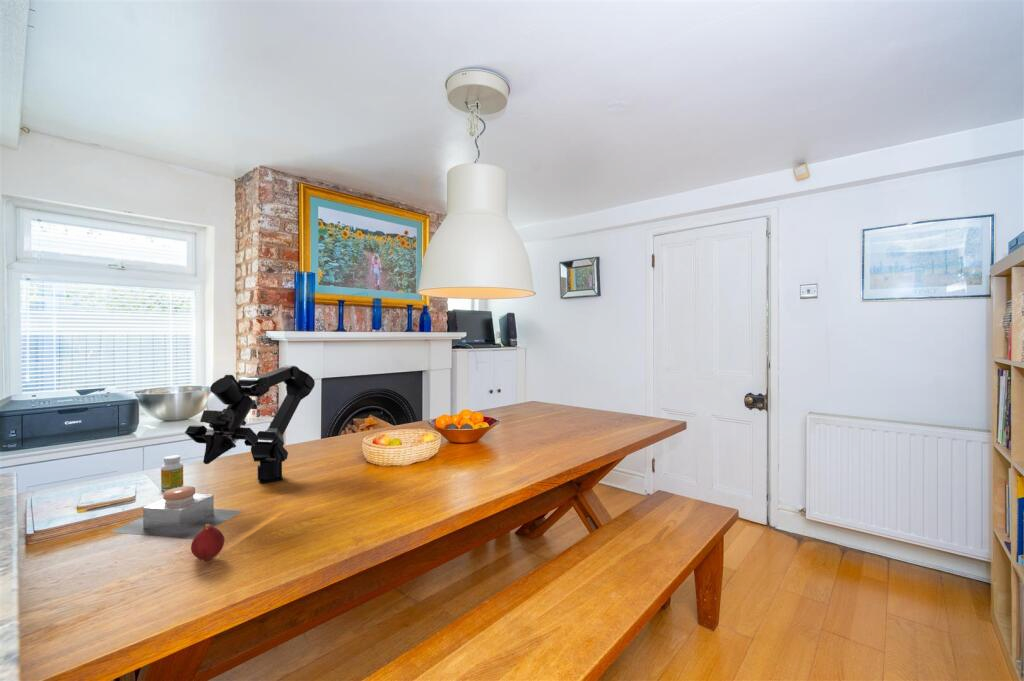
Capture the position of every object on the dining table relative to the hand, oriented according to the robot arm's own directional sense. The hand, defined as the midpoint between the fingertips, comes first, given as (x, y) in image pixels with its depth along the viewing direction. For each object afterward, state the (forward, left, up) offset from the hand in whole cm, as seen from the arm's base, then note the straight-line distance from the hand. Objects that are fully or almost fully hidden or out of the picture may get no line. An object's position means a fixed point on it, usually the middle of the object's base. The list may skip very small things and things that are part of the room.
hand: (205, 463), depth 120 cm
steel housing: (+5, +6, -12) cm, 14 cm away
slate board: (+5, +6, -13) cm, 15 cm away
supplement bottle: (+9, -26, -13) cm, 30 cm away
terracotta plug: (+5, +6, -11) cm, 14 cm away
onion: (-1, +30, -13) cm, 33 cm away
